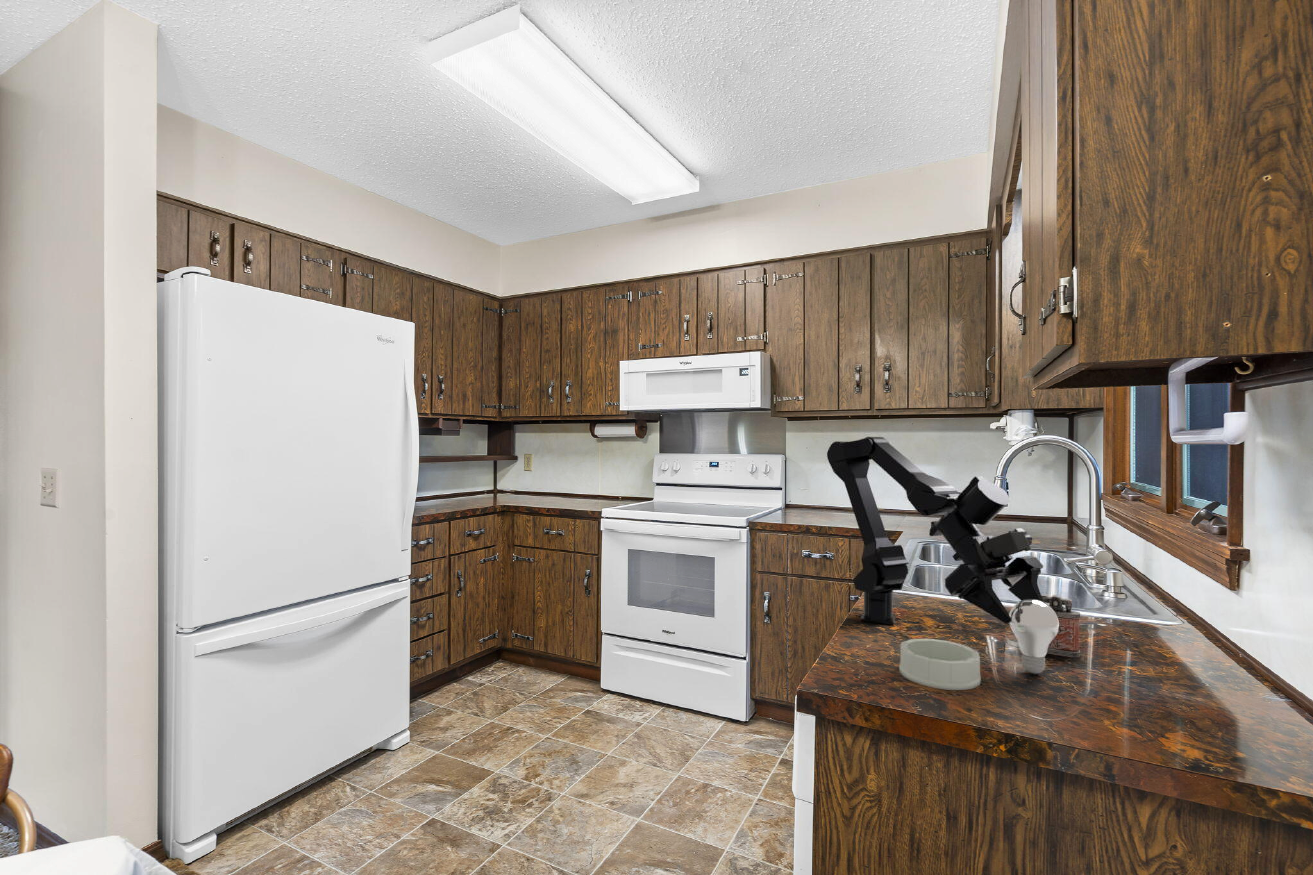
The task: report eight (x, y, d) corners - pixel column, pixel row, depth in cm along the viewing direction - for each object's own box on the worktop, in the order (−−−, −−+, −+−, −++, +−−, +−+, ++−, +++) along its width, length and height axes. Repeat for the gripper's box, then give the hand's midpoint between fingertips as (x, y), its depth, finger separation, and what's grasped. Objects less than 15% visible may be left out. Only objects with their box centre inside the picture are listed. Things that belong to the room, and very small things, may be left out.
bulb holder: (900, 658, 108) (900, 634, 108) (977, 668, 103) (977, 644, 103) (898, 682, 97) (898, 656, 97) (983, 695, 93) (984, 668, 93)
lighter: (1080, 653, 111) (1080, 596, 111) (1080, 658, 109) (1080, 600, 109) (1027, 644, 116) (1027, 590, 116) (1026, 649, 113) (1026, 594, 113)
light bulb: (1066, 683, 97) (1067, 606, 97) (1017, 680, 99) (1017, 603, 99) (1048, 667, 104) (1048, 595, 104) (1002, 664, 105) (1002, 593, 105)
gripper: (959, 515, 103) (1025, 597, 93) (1032, 510, 111) (1099, 585, 101) (920, 555, 110) (977, 636, 100) (991, 548, 118) (1050, 622, 108)
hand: (1027, 618), depth 102 cm, fingers open, 9 cm apart
